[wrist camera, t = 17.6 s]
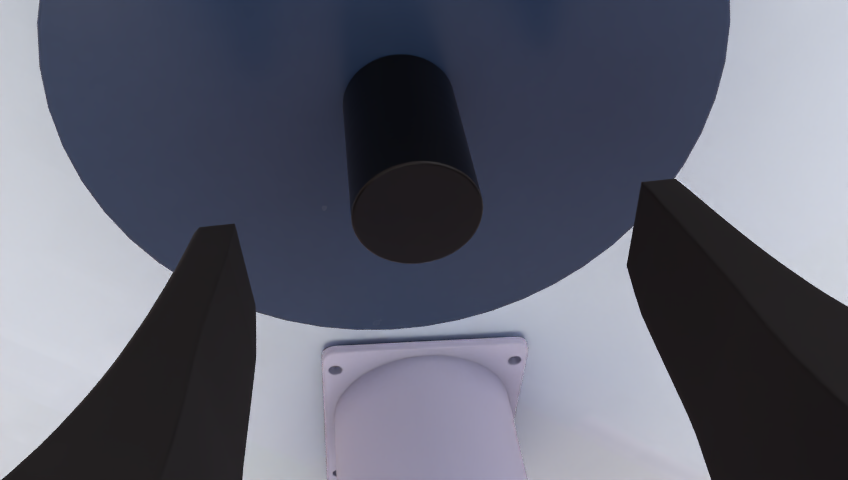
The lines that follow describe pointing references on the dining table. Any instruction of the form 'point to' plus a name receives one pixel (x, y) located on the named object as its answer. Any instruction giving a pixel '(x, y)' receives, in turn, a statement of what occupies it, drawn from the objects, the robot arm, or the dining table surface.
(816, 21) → the dining table surface
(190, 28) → the lid
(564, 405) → the dining table surface
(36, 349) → the dining table surface
